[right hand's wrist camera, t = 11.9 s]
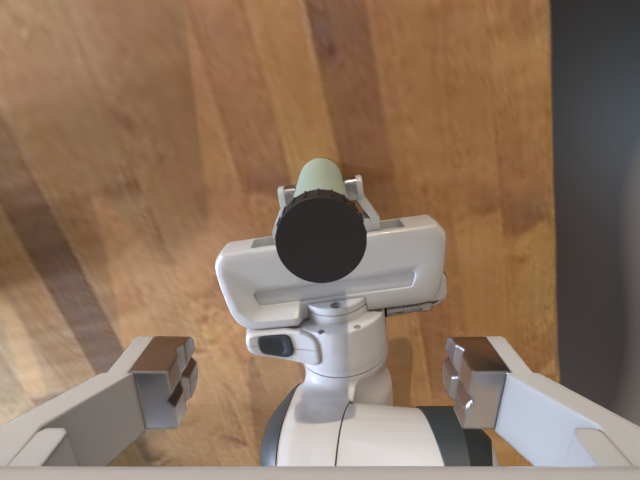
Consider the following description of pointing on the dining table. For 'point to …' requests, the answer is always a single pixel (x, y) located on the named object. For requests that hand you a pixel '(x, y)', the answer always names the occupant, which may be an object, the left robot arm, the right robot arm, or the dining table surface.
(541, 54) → the dining table surface
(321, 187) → the pale green cylinder
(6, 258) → the dining table surface
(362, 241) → the lid
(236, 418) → the dining table surface
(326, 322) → the left robot arm
